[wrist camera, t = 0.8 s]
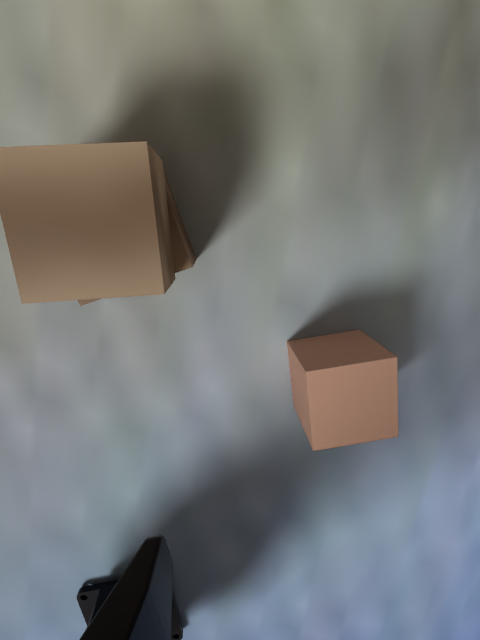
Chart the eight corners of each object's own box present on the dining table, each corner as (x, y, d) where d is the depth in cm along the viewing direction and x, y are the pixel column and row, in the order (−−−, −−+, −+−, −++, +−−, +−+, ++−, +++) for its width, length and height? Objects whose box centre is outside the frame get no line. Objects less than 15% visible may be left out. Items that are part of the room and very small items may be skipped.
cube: (362, 394, 22) (398, 436, 17) (293, 405, 22) (313, 450, 17) (359, 329, 21) (397, 356, 16) (286, 340, 20) (305, 371, 16)
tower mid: (175, 278, 16) (164, 294, 12) (64, 286, 15) (21, 303, 12) (162, 160, 14) (146, 141, 11) (40, 166, 14) (-16, 148, 11)
